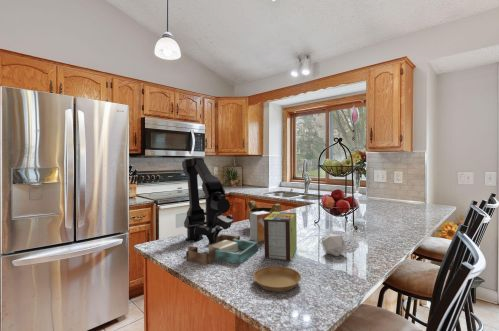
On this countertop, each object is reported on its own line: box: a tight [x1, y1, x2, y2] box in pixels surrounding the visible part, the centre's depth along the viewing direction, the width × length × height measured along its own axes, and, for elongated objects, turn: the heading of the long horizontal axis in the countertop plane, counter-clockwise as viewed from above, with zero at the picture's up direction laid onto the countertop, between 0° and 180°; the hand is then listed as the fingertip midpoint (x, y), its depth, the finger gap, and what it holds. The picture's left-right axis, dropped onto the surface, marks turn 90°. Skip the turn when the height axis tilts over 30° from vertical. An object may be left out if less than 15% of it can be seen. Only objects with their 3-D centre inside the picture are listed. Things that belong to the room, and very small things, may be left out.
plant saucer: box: [252, 265, 302, 293], centre depth 82 cm, size 15×15×3 cm
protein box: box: [263, 211, 298, 262], centre depth 108 cm, size 10×15×16 cm
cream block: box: [208, 240, 239, 253], centre depth 109 cm, size 7×10×4 cm
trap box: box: [185, 233, 259, 265], centre depth 109 cm, size 24×26×4 cm
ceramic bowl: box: [247, 200, 282, 223], centre depth 147 cm, size 22×17×15 cm
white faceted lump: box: [321, 232, 347, 257], centre depth 106 cm, size 8×9×10 cm
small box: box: [249, 211, 271, 243], centre depth 127 cm, size 8×6×13 cm
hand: (213, 246), depth 111 cm, fingers closed
